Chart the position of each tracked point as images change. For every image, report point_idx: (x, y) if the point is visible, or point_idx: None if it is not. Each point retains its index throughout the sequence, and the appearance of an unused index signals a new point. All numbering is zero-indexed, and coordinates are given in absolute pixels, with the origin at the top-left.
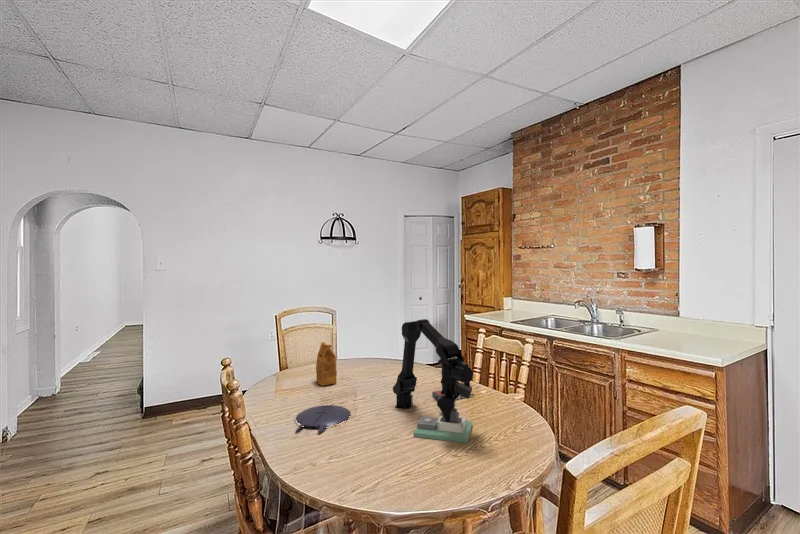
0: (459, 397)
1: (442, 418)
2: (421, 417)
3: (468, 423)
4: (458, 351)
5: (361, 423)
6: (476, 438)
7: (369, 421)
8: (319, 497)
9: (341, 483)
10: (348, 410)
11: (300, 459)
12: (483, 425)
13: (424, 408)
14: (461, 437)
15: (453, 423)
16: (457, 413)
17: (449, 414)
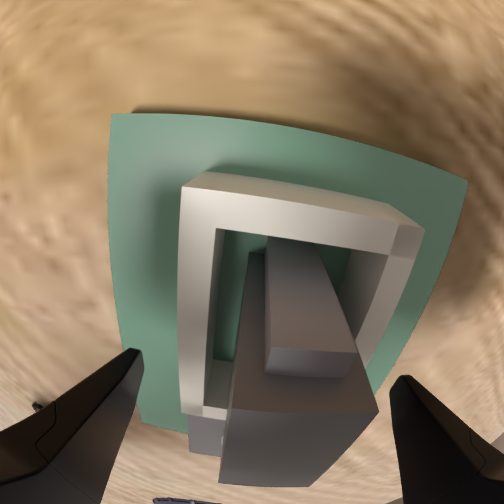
0: None
1: (205, 389)
2: (204, 453)
3: (158, 145)
4: None
5: (230, 496)
6: (387, 91)
7: (213, 490)
8: (496, 438)
9: (484, 439)
10: (171, 502)
11: (389, 495)
12: (125, 30)
13: (37, 379)
14: (449, 225)
15: (372, 328)
16: (346, 365)
17: (467, 435)
